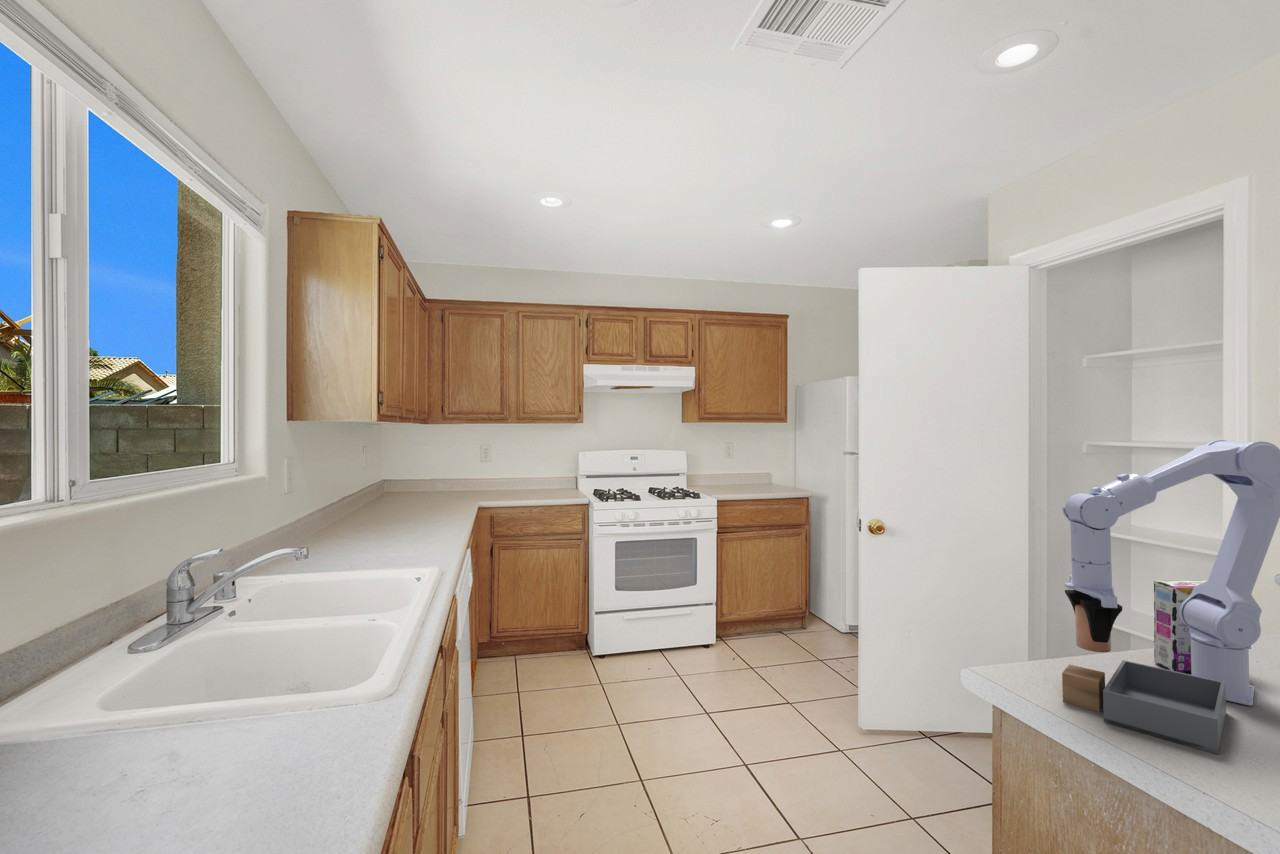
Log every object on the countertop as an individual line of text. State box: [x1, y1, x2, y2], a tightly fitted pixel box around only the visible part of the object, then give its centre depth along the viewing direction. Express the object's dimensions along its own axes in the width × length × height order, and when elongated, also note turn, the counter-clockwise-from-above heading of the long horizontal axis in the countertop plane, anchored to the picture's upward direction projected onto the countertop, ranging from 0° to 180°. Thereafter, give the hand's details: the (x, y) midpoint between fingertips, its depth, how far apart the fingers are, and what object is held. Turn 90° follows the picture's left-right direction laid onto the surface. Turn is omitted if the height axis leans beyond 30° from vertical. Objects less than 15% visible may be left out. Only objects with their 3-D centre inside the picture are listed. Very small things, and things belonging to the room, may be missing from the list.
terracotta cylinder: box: [1074, 604, 1112, 653], centre depth 105 cm, size 5×5×7 cm
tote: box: [1102, 659, 1227, 756], centre depth 94 cm, size 17×13×5 cm
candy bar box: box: [1153, 579, 1225, 674], centre depth 111 cm, size 11×5×16 cm, turn 88°
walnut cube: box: [1061, 664, 1106, 712], centre depth 100 cm, size 5×5×5 cm
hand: (1093, 636), depth 105 cm, fingers closed on terracotta cylinder, 5 cm apart
